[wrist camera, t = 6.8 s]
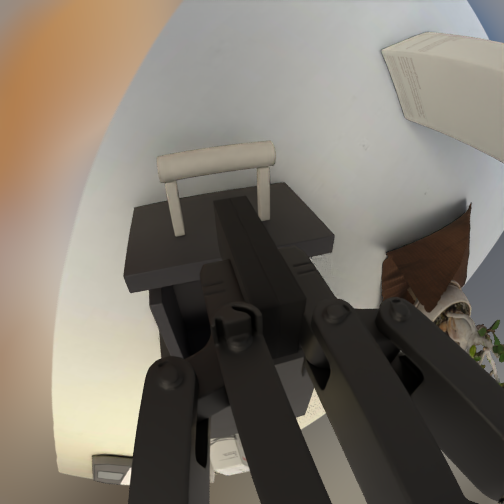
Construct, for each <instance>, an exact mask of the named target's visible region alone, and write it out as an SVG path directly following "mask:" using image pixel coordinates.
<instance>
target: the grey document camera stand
mask: <svg viewBox="0 0 504 504" xmlns="http://www.w3.org/2000/svg"><path fill="white" fill-rule="evenodd" d="M132 460H133V458H128V457H117V456H106V455H100V456H92V469H93V480H94V481H97V482H102V483H107V484H117V485H130V478H131V468H132Z"/></svg>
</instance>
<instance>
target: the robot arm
mask: <svg viewBox="0 0 504 504" xmlns="http://www.w3.org/2000/svg"><path fill="white" fill-rule="evenodd" d="M213 205H214V213H215V222H216V230H217V239H218V247H219V252H220V255H221V259H222V261H217V262H212V263H207V264H203V266H202V269H201V271H200V274H199V275H200V280H201V285H202V290H203V295H204V300H205V304H206V309H207V313H208V318H209V322H210V327H211V336H210V339H209V341H208V343H207V345H206V346H205V347H204V348H203V349H202V350H200V351H199V352H197V353H196V354H194V355H192V356H190V357H188V358H186V359H183V358H181V357H176V356H168V357H163V358H161V359H159V360H157V361H155V362H154V363H153V364H152V365H151V366H150V367H149V370H148V372H147V374H146V378H145V383H144V389H143V394H142V400H141V405H140V411H139V417H138V424H137V430H136V437H135V444H134V452H133V460H132V468H131V478H130V488H129V489H130V490H129V500H128V504H209V483H210V438H211V416H213V415H215V414H216V413H218V412H220V411H222V410H223V409H225V408H227V407H229V406H231V410H232V413H233V417H234V420H235V424H236V427H237V431H238V434H239V437H240V441H241V444H242V447H243V451H244V454H245V457H246V460H247V463H248V466H249V470H250V473H251V475H252V479H253V482H254V485H255V487H256V491H257V493H258V496H259V499H260V502H261V504H332V503H331V501H330V498H329V496H328V494H327V491H326V489H325V487H324V484H323V482H322V480H321V477H320V475H319V473H318V470H317V468H316V466H315V463H314V461H313V458H312V456H311V454H310V451H309V449H308V446H307V444H306V442H305V439H304V437H303V435H302V432H301V429H300V427H299V425H298V422H297V420H296V417H295V415H294V412H293V410H292V407H291V405H290V402H289V400H288V397H287V395H286V392H285V390H284V387H283V385H282V382H281V380H280V377H279V375H278V372H277V370H276V367H275V365H274V362H273V359H277V358H281V357H284V356H288V355H291V354H295V353H298V350H299V344H300V345H301V348H302V350H303V352H304V354H305V356H304V360H303V365H302V369H301V373H302V377H304V376H305V375H306V371H307V373H308V375H309V377H310V379H311V381H312V383H313V386H314V388H315V390H316V392H317V394H318V397H319V399H320V401H321V403H322V405H323V408H324V410H325V412H326V414H327V416H328V418H329V421H330V423H331V425H332V427H333V429H334V431H335V434H336V436H337V438H338V440H339V443H340V445H341V447H342V449H343V451H344V453H345V456H346V458H347V460H348V462H349V464H350V467H351V469H352V471H353V473H354V475H355V478H356V480H357V482H358V484H359V486H360V488H361V491H362V493H363V495H364V497H365V499H366V502H367V504H478V503H475V502H472V501H469V500H468V499H466V498H465V496H464V495H463V493H462V491H461V489H460V487H459V485H458V483H457V481H456V479H455V477H454V475H453V473H452V471H451V469H450V467H449V465H448V463H447V461H446V459H445V457H444V456H443V454H442V452H441V450H442V451H443V452H444V453H445V455H446V456H447V457H448V458H449V459H450V460H451V461H452V462H453V463H454V464H455V465H456V466H457V467H458V468H459V469H460V470H461V472H462V473H463V474H464V475H465V476H466V477H467V478H468V479H469V480H470V481H471V482H472V483H473V484H474V485H475V486H476V487H477V488H478V489H479V490H480V491H481V492H482V493H483V494H485V495H486V496H488V497H489V498H491V499H493V500H496V501H498V503H497V504H504V389H503V388H502V386H501V385H500V384H499V383H498V382H497V381H496V380H495V379H494V378H492V376H491V375H490V374H489V373H488V372H486V371H485V370H484V369H483V368H482V367H481V366H480V365H479V364H478V363H477V362H476V361H475V360H474V359H473V358H472V357H471V356H470V355H469V354H468V353H467V352H466V351H465V350H463V349H462V348H461V347H460V346H459V345H458V344H457V343H456V342H455V341H454V340H453V339H452V338H450V337H449V336H448V335H447V334H446V333H445V332H444V331H443V330H442V329H440V328H439V327H438V326H437V325H436V324H435V323H434V322H432V321H431V320H430V319H429V318H428V317H427V316H426V315H424V314H423V313H422V312H421V311H420V310H419V309H417V308H416V307H415V306H414V305H413V304H412V303H410V302H409V301H407V300H405V299H403V298H399V297H390V298H387V299H385V300H384V301H383V302H382V303H381V305H380V308H379V309H355V308H353V307H352V306H351V305H350V304H349V303H348V302H346V301H344V300H342V299H337V298H336V297H335V296H334V294H333V293H332V291H331V290H330V288H329V287H328V285H327V284H326V282H325V281H324V279H323V278H322V276H321V275H320V273H319V272H318V270H316V267H315V266H314V264H313V263H312V262H311V260H310V259H309V257H308V256H307V254H306V253H305V252H304V251H302V250H301V249H299V248H298V247H296V246H290V247H285V248H280V249H278V248H277V246H276V245H275V243H274V241H273V240H272V238H271V236H270V234H269V233H268V231H267V229H266V228H265V226H264V224H263V223H262V221H261V219H260V218H259V216H258V214H257V213H256V211H255V209H254V208H253V206H252V204H251V203H250V201H249V199H248V198H247V196H246V195H245V196H239V197H232V198H226V199H220V200H214V201H213ZM401 351H402V352H401ZM440 449H441V450H440Z"/></svg>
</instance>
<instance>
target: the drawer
mask: <svg viewBox="0 0 504 504" xmlns="http://www.w3.org/2000/svg"><path fill="white" fill-rule="evenodd" d="M275 160H276V153H275V148H274V145H273V143H272V142H271V141H261V142H251V143H241V144H233V145H225V146H217V147H210V148H203V149H197V150H190V151H184V152H179V153H173V154H168V155H162V156H158V157H157V168H158V174H159V179H160V182H161V183H164V182H165V187H166V193H167V198H168V201H164V202H159V203H154V204H149V205H144V206H139V207H135V208H134V212H133V217H132V223H131V228H130V234H129V240H128V247H127V253H126V260H125V268H124V276H123V277H124V279H125V282H126V284H127V287H128V289H129V292H130V293H134V292H140V291H145V290H149V306H150V309H151V311H152V314H153V316H154V318H155V321H156V323H157V326H158V328H159V330H160V333H161V335H162V337H163V339H164V342H165V344H166V346H167V348H168V351H169V353H170V355H171V356H176V357H181V358H183V359H186V358H188V357H190V356H192V355H194V354H196V353H197V352H199V351H200V350H202V349H203V348H204V347H205V346H206V345H207V343H208V341H209V339H210V336H211V327H210V322H209V318H208V313H207V309H206V304H205V300H204V295H203V290H202V285H201V280H200V275H199V274H200V271H201V269H202V266H203V264H207V263H212V262H217V261H222V259H221V255H220V252H219V247H218V239H217V230H216V222H215V213H214V205H213V201H214V200H220V199H226V198H232V197H239V196H245V195H246V196H247V198H248V199H249V201H250V203H251V204H252V206H253V208H254V209H255V211H256V213H257V214H258V216H259V218H260V219H261V221H262V223H263V224H264V226H265V228H266V229H267V231H268V233H269V234H270V236H271V238H272V240H273V241H274V243H275V245H276V246H277V248H278V249H280V248H285V247H290V246H296V247H298V248H299V249H301V250H302V251H304V252H305V253H306V254H307V256H308V257H313V256H318V255H322V254H327V253H331V252H332V250H333V243H334V237H335V236H334V234H333V233H332V232H331V231H330V230H329V229H328V227H327V226H326V225H325V224H324V223H323V222H322V221H321V220H320V219H319V218H318V217H317V216H316V214H315V213H314V212H313V211H312V210H311V209H310V208H309V207H308V206H307V205H306V204H305V203H304V202H303V201H302V200H301V199H300V198H299V197H298V196H297V194H296V193H295V192H294V191H293V190H292V189H291V188H290V187H289V186H288V185H287V184H286V183H285V182H283V183H275V184H270V168H269V167H268V166H273V165H274V164H275ZM251 168H257V186H253V187H246V188H239V189H232V190H226V191H220V192H214V193H208V194H202V195H196V196H191V197H185V198H180V199H179V194H178V188H177V182H176V180H180V179H185V178H191V177H197V176H203V175H209V174H216V173H222V172H229V171H236V170H244V169H251ZM316 270H317V269H316ZM301 349H302V348H301V345H300V344H299V350H301Z"/></svg>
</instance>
